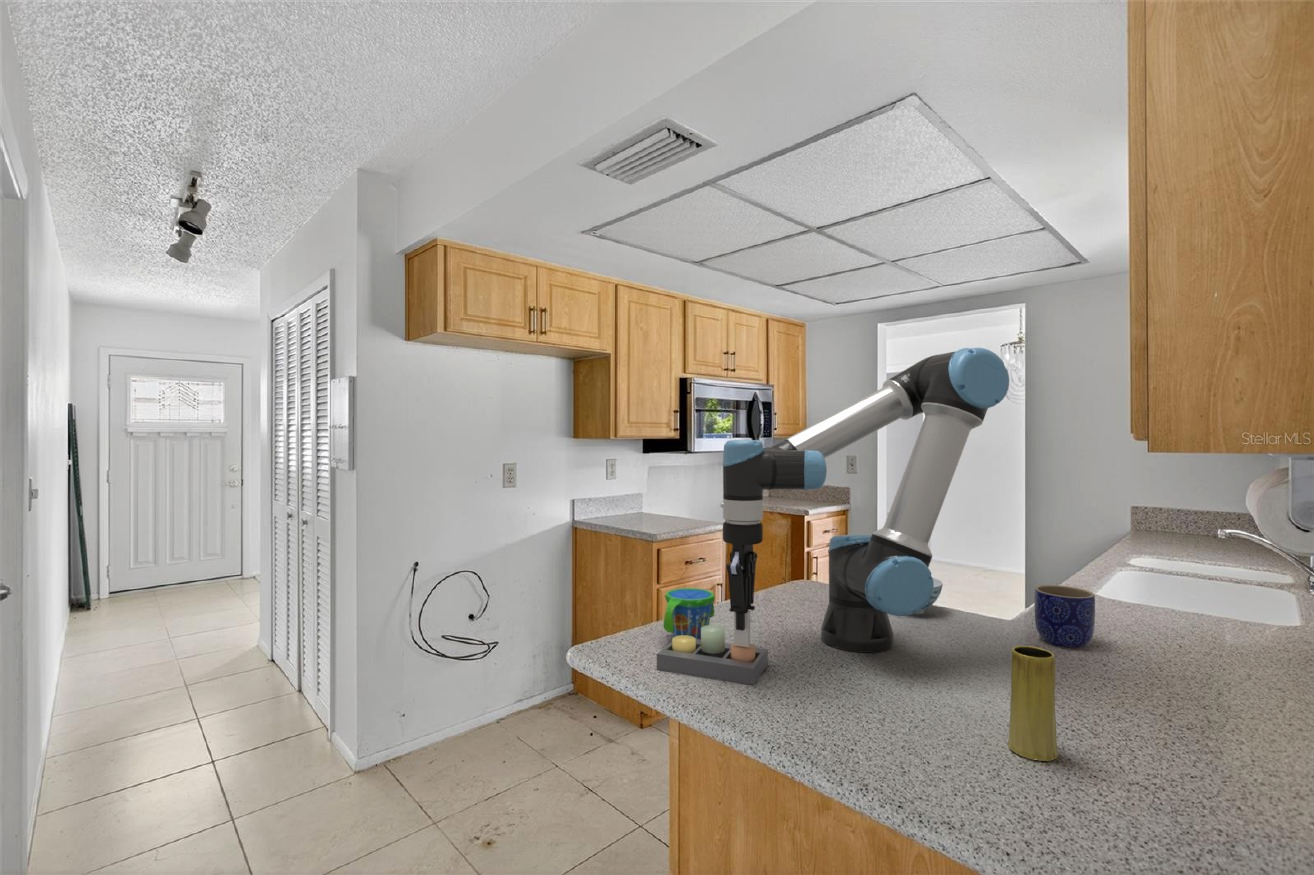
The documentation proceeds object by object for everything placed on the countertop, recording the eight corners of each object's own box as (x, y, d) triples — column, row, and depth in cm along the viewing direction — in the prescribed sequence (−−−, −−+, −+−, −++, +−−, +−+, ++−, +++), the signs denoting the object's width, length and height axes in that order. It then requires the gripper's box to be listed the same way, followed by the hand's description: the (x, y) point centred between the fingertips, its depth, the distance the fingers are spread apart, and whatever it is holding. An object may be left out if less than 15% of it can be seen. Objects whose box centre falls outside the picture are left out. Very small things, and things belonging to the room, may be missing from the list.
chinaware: (872, 601, 167) (872, 572, 167) (931, 603, 165) (931, 574, 165) (887, 618, 152) (887, 587, 152) (951, 620, 151) (951, 588, 150)
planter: (1101, 654, 127) (1101, 599, 127) (1039, 647, 131) (1039, 594, 131) (1087, 638, 138) (1087, 587, 137) (1030, 632, 142) (1030, 582, 141)
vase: (1066, 754, 88) (1066, 653, 88) (1044, 767, 85) (1044, 662, 85) (1021, 736, 93) (1021, 641, 93) (999, 748, 90) (999, 649, 90)
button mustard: (698, 656, 125) (698, 637, 125) (690, 664, 121) (690, 644, 121) (677, 653, 127) (677, 634, 127) (668, 661, 123) (668, 641, 123)
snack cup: (696, 626, 147) (696, 583, 146) (731, 637, 139) (731, 591, 139) (647, 642, 136) (647, 595, 136) (682, 654, 128) (682, 605, 128)
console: (768, 664, 123) (768, 648, 123) (753, 685, 113) (753, 668, 113) (677, 650, 130) (677, 636, 130) (656, 669, 120) (656, 653, 120)
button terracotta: (757, 665, 120) (757, 644, 120) (751, 673, 116) (751, 652, 116) (734, 661, 122) (734, 641, 122) (727, 670, 118) (727, 648, 118)
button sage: (727, 647, 123) (727, 626, 123) (720, 654, 118) (720, 633, 118) (705, 644, 124) (705, 624, 124) (697, 651, 120) (697, 630, 120)
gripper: (733, 515, 126) (733, 632, 126) (712, 524, 114) (712, 653, 115) (770, 518, 123) (769, 637, 123) (753, 527, 111) (752, 659, 112)
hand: (742, 645), depth 119 cm, fingers closed
